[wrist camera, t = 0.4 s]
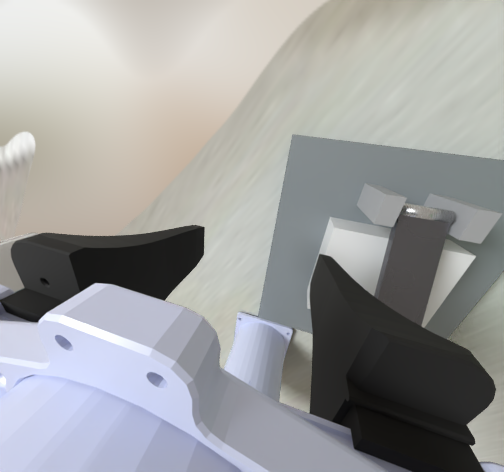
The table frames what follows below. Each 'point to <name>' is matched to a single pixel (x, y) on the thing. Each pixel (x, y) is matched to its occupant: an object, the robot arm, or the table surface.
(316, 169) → the board
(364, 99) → the table surface
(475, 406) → the robot arm
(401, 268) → the clamp bar
